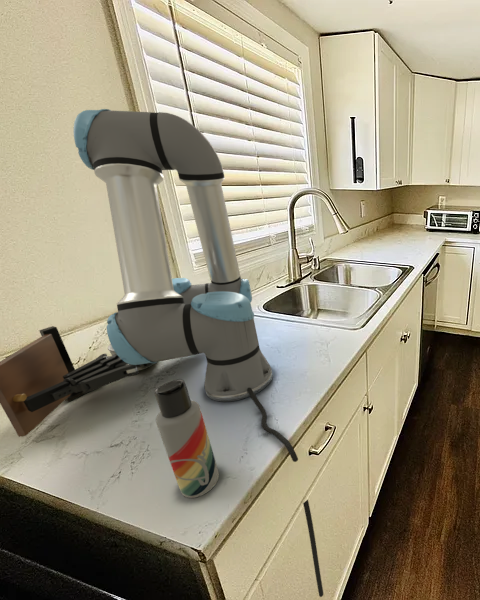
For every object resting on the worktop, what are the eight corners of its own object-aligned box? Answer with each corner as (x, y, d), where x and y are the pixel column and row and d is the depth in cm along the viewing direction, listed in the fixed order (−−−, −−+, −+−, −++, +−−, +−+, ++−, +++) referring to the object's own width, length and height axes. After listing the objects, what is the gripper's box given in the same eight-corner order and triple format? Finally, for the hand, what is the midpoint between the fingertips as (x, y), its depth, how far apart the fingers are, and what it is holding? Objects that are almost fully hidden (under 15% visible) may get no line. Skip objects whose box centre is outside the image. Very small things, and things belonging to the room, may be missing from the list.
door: (70, 390, 77) (44, 334, 72) (82, 388, 78) (57, 333, 73) (18, 437, 64) (-18, 372, 58) (33, 434, 64) (-1, 370, 59)
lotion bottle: (193, 504, 52) (158, 401, 44) (173, 489, 54) (137, 389, 47) (226, 477, 56) (199, 380, 49) (206, 464, 59) (178, 370, 52)
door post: (56, 397, 77) (25, 333, 71) (86, 383, 82) (60, 322, 76) (68, 402, 75) (38, 337, 69) (98, 387, 81) (73, 325, 74)
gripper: (172, 366, 83) (52, 429, 63) (140, 356, 88) (19, 412, 68) (164, 341, 80) (36, 398, 60) (131, 331, 85) (2, 382, 65)
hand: (27, 405), depth 64 cm, fingers closed
